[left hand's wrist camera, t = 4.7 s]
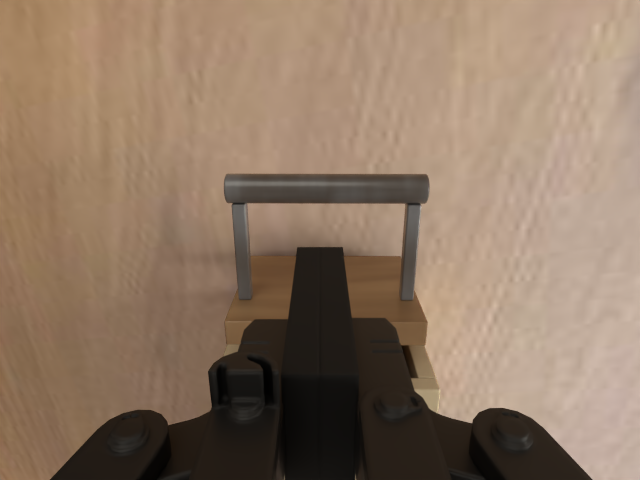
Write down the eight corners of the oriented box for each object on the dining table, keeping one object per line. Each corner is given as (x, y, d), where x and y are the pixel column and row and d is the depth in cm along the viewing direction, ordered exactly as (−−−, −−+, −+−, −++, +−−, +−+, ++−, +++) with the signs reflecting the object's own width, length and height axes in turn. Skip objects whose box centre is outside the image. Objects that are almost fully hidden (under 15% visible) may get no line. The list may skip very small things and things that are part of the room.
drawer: (244, 153, 23) (211, 186, 17) (408, 153, 23) (442, 187, 17) (262, 458, 31) (246, 565, 24) (386, 459, 31) (403, 566, 24)
